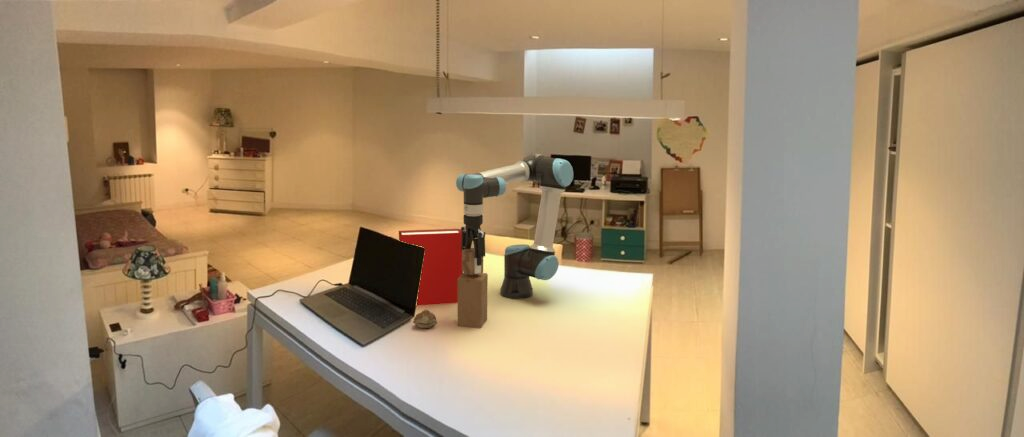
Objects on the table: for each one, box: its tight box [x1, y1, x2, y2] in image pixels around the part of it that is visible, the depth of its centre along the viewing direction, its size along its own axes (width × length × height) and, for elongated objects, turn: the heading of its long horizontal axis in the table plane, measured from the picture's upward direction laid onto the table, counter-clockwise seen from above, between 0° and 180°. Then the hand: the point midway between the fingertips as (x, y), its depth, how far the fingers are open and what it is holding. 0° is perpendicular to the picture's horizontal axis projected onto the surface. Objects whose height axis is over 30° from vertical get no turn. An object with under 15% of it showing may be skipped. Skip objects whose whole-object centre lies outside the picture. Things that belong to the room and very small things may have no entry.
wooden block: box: [457, 272, 489, 329], centre depth 252 cm, size 10×10×20 cm
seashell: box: [412, 309, 438, 329], centre depth 248 cm, size 9×7×8 cm
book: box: [398, 228, 464, 307], centre depth 275 cm, size 27×8×32 cm, turn 104°
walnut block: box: [462, 247, 484, 275], centre depth 249 cm, size 6×6×9 cm
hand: (472, 271), depth 250 cm, fingers closed on walnut block, 6 cm apart
